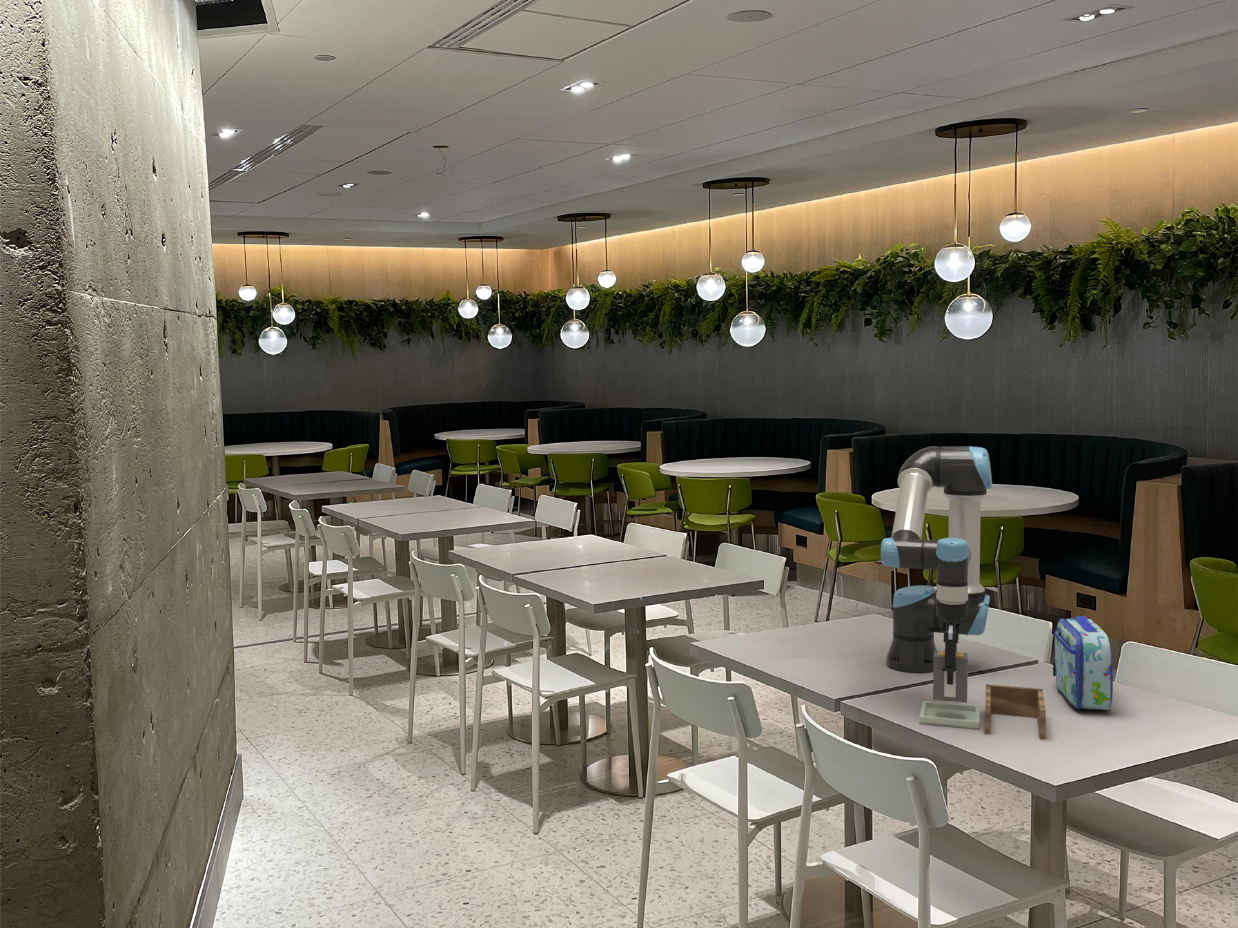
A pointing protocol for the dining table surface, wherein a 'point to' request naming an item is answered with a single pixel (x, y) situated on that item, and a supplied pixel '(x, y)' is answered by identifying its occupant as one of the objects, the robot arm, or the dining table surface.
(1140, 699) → the dining table surface
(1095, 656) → the lunch box
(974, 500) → the robot arm
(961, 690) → the grey box yellow panel
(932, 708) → the tray
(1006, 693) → the bay
